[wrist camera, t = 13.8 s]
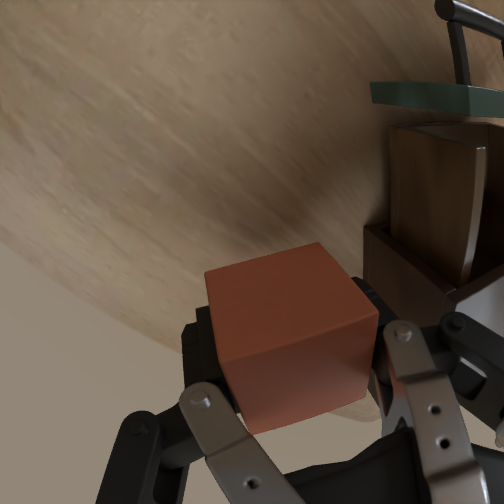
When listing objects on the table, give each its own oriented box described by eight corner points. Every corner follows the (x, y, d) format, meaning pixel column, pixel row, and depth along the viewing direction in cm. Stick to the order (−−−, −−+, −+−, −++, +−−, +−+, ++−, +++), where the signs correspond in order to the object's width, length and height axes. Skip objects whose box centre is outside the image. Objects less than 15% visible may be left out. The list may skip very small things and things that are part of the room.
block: (203, 271, 11) (218, 362, 7) (318, 240, 11) (380, 311, 7) (230, 352, 13) (250, 436, 9) (323, 324, 13) (366, 397, 10)
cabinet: (363, 226, 18) (456, 303, 11) (480, 193, 20) (558, 236, 12) (356, 370, 25) (399, 442, 18) (453, 322, 27) (501, 373, 19)
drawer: (354, 3, 11) (443, -29, 5) (477, 31, 12) (550, 34, 6) (375, 290, 20) (433, 354, 14) (476, 248, 21) (530, 288, 15)
